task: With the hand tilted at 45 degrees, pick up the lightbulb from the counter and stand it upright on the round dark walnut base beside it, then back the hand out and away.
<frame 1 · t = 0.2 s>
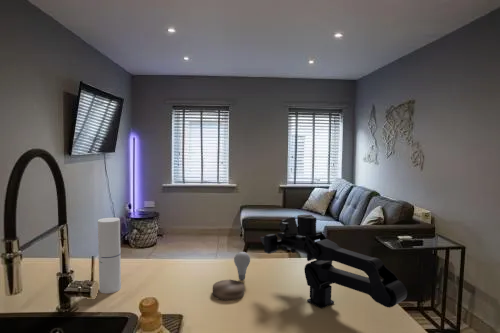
hand: (269, 236, 134), 17 cm above the countertop, tool horizontal, fingers open, 9 cm apart
lightbulb: (241, 280, 134), on the countertop
walnut base: (228, 293, 122), on the countertop
cylindrical container: (110, 289, 125), on the countertop
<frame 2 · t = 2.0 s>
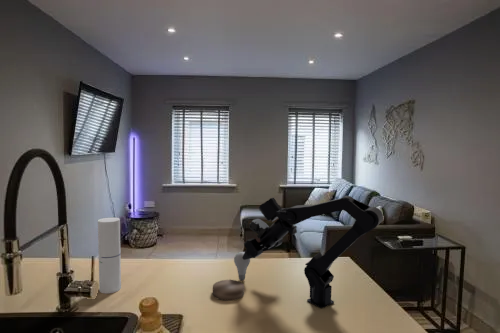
hand: (250, 255, 131), 10 cm above the countertop, tool tilted 45°, fingers open, 9 cm apart
nothing on the countertop moved.
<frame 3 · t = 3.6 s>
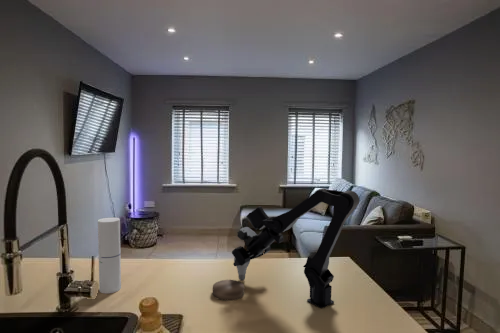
hand: (239, 262, 134), 7 cm above the countertop, tool tilted 45°, fingers closed on lightbulb, 6 cm apart
lightbulb: (241, 280, 134), on the countertop, touching gripper
everything else where it was.
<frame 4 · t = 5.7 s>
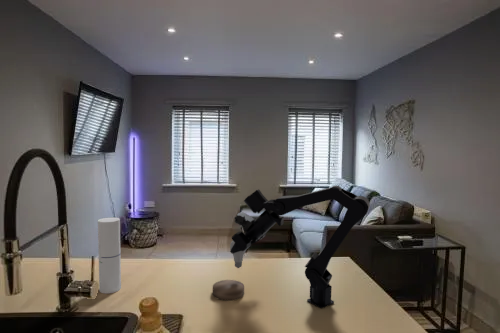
hand: (235, 249, 128), 13 cm above the countertop, tool tilted 45°, fingers closed on lightbulb, 6 cm apart
lightbulb: (238, 268, 128), point 7 cm above the countertop, touching gripper
everything else where it was.
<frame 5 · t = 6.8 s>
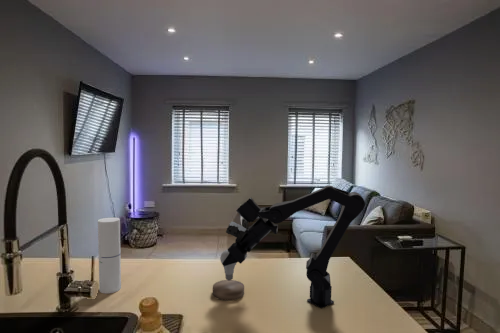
hand: (225, 261, 122), 11 cm above the countertop, tool tilted 45°, fingers closed on lightbulb, 6 cm apart
lightbulb: (229, 281, 122), point 4 cm above the countertop, touching gripper
everything else where it was.
when the fingers open (10 cm above the countertop, at t = 7.8 s): lightbulb drops 1 cm, resting on walnut base.
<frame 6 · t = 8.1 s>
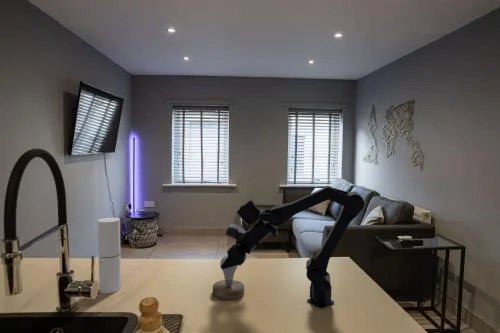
hand: (224, 263, 122), 11 cm above the countertop, tool tilted 45°, fingers open, 9 cm apart
lightbulb: (228, 286, 122), point 2 cm above the countertop, touching walnut base
everything else where it was.
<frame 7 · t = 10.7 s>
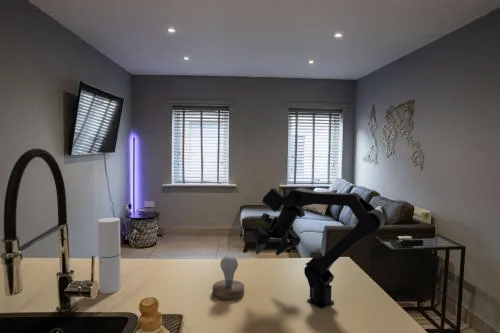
hand: (266, 254, 127), 12 cm above the countertop, tool tilted 30°, fingers open, 9 cm apart
nothing on the countertop moved.
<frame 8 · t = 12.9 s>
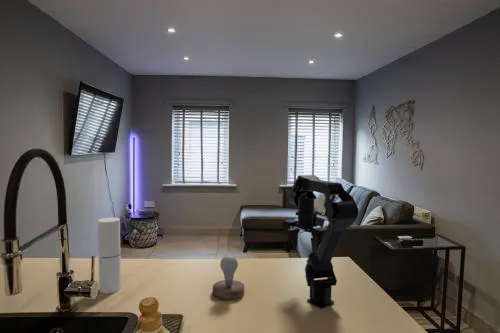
hand: (304, 251, 128), 13 cm above the countertop, tool pointing down, fingers open, 9 cm apart
nothing on the countertop moved.
at the end: lightbulb 0.2 cm off-centre on the walnut base, point 2.3 cm above the walnut base's base; lightbulb tilted 0°; lightbulb touching walnut base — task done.
